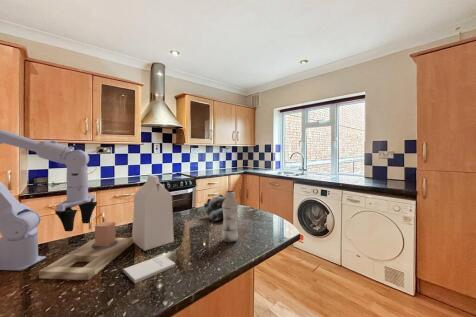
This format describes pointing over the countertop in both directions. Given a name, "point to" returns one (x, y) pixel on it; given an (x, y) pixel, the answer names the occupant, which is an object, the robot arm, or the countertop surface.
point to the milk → (152, 215)
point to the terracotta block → (104, 234)
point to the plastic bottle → (230, 217)
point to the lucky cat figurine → (215, 208)
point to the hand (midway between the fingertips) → (77, 226)
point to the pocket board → (85, 260)
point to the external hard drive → (148, 268)
